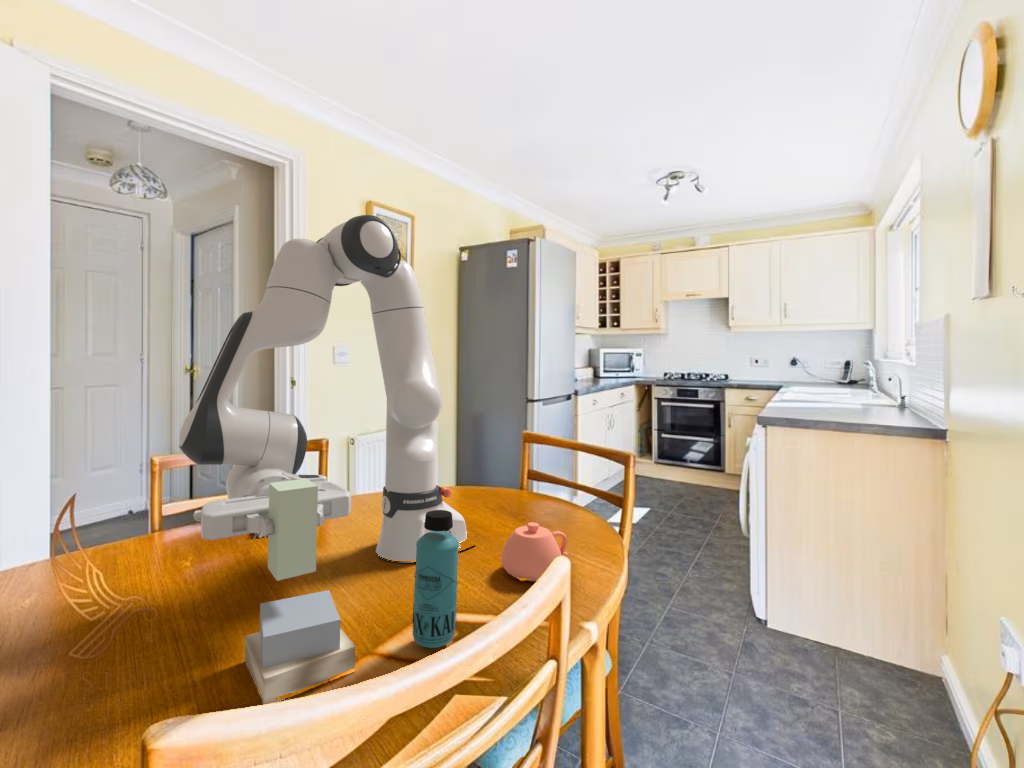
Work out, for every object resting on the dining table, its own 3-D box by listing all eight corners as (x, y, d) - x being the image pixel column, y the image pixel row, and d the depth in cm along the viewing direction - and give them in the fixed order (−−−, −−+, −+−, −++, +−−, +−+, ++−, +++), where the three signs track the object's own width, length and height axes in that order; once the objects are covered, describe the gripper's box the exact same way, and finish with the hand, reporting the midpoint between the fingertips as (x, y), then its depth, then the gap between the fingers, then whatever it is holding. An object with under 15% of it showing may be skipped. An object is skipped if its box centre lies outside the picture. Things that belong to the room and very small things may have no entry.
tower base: (326, 637, 72) (327, 611, 71) (354, 675, 63) (355, 646, 63) (244, 664, 65) (245, 636, 64) (264, 711, 56) (264, 679, 56)
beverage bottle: (414, 633, 73) (417, 505, 72) (457, 632, 73) (461, 505, 72) (408, 659, 66) (412, 519, 65) (455, 658, 67) (460, 519, 66)
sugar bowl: (495, 562, 100) (497, 515, 99) (558, 559, 103) (560, 512, 102) (508, 590, 88) (510, 536, 87) (578, 585, 91) (581, 532, 91)
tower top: (328, 616, 70) (329, 590, 70) (339, 649, 62) (340, 619, 62) (259, 631, 66) (260, 603, 65) (262, 669, 58) (263, 637, 58)
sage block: (304, 559, 69) (306, 478, 69) (315, 571, 66) (317, 486, 65) (267, 567, 66) (269, 482, 66) (276, 580, 62) (278, 491, 62)
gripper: (191, 490, 69) (205, 515, 58) (333, 473, 82) (365, 492, 71) (191, 532, 69) (204, 566, 58) (332, 509, 82) (364, 533, 71)
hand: (294, 525), depth 65 cm, fingers closed on sage block, 5 cm apart
